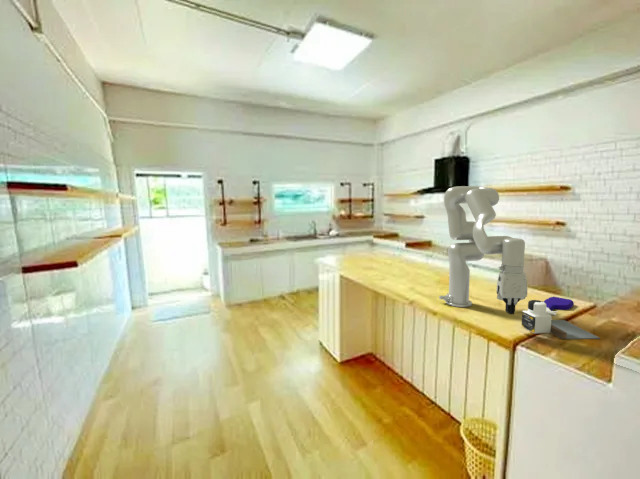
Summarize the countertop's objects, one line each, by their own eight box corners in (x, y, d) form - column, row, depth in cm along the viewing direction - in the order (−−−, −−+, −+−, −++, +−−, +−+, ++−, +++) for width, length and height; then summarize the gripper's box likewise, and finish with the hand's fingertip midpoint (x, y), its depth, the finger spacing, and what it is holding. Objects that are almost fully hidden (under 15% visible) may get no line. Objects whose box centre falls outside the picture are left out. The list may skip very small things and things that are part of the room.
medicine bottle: (521, 326, 130) (522, 299, 129) (537, 325, 130) (538, 298, 129) (534, 333, 123) (535, 304, 121) (550, 332, 123) (552, 303, 122)
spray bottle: (550, 295, 162) (531, 306, 148) (576, 300, 154) (559, 312, 139) (549, 301, 163) (531, 312, 148) (575, 306, 154) (559, 318, 139)
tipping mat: (562, 339, 118) (562, 332, 117) (531, 321, 136) (531, 315, 135) (599, 338, 117) (600, 332, 117) (563, 320, 135) (564, 315, 135)
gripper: (498, 271, 120) (496, 317, 123) (537, 270, 120) (534, 316, 122) (488, 267, 128) (486, 310, 130) (525, 266, 127) (522, 310, 130)
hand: (510, 313), depth 126 cm, fingers closed
